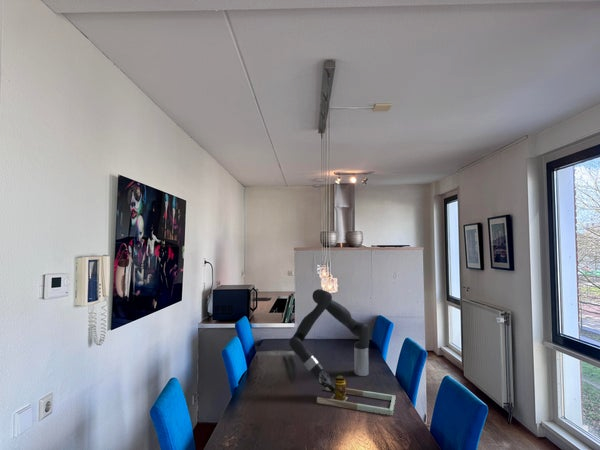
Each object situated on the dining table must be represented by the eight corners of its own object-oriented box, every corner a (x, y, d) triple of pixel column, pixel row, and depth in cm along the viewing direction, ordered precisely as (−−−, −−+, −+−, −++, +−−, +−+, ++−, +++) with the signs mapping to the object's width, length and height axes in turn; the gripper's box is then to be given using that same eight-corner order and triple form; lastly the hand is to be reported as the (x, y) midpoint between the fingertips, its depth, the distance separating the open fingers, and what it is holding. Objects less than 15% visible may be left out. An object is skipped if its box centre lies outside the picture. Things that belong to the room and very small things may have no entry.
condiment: (343, 402, 183) (343, 380, 184) (329, 399, 187) (329, 377, 188) (348, 397, 190) (348, 375, 190) (334, 394, 194) (334, 373, 194)
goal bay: (363, 395, 193) (363, 390, 193) (395, 400, 187) (395, 395, 187) (357, 409, 176) (357, 404, 176) (392, 415, 169) (392, 410, 170)
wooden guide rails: (326, 389, 201) (326, 385, 201) (363, 395, 193) (363, 390, 193) (316, 402, 183) (316, 398, 184) (357, 409, 176) (357, 404, 176)
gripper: (314, 365, 188) (335, 391, 183) (321, 358, 200) (341, 382, 195) (305, 373, 190) (326, 400, 184) (313, 366, 202) (332, 390, 197)
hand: (334, 390), depth 190 cm, fingers closed
